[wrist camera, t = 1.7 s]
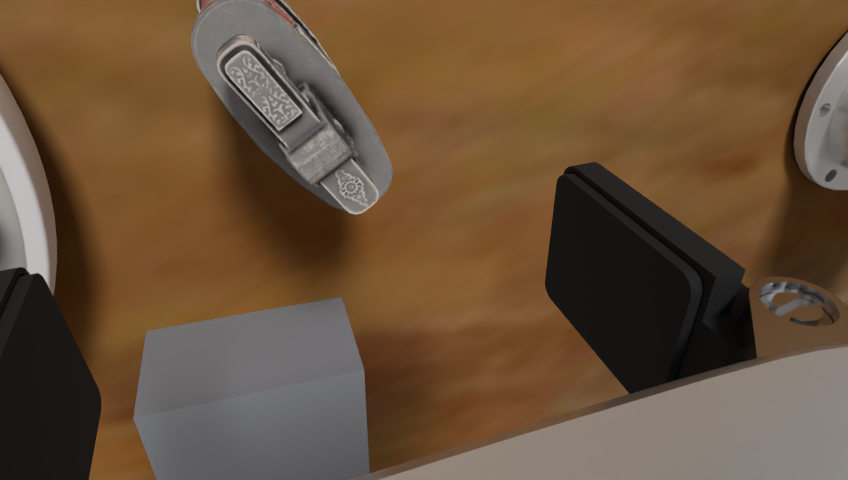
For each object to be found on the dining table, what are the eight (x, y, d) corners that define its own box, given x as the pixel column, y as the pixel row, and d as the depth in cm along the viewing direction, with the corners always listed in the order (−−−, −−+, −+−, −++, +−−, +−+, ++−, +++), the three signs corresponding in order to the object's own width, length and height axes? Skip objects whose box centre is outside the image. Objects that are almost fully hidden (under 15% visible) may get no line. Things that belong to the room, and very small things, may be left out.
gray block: (340, 294, 32) (364, 370, 27) (350, 416, 37) (371, 497, 32) (146, 327, 29) (133, 418, 24) (187, 453, 34) (182, 548, 29)
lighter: (367, 104, 26) (437, 206, 18) (310, 149, 26) (353, 269, 18) (243, -58, 21) (262, -18, 13) (175, -1, 22) (152, 72, 14)
